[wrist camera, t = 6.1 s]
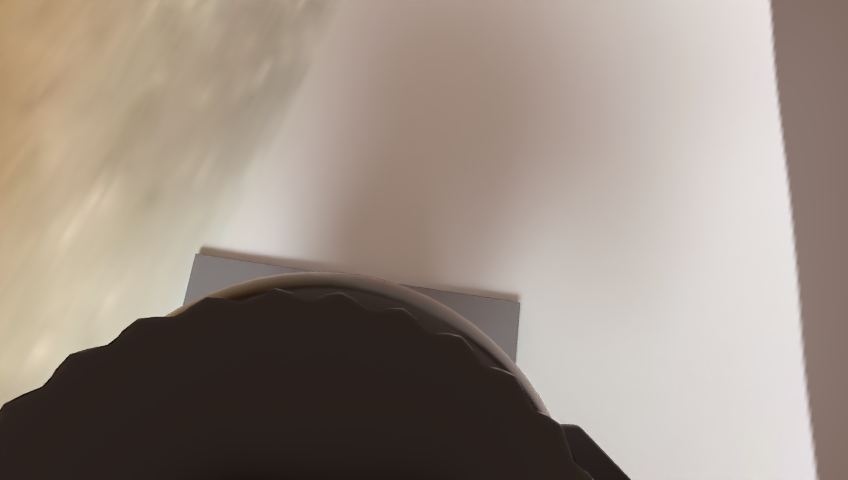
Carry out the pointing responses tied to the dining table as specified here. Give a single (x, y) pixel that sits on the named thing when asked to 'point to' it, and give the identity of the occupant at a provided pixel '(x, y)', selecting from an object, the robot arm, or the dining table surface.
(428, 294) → the shelf mat
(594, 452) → the robot arm
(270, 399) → the supplement bottle
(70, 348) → the dining table surface
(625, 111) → the dining table surface
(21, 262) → the dining table surface
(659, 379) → the dining table surface
